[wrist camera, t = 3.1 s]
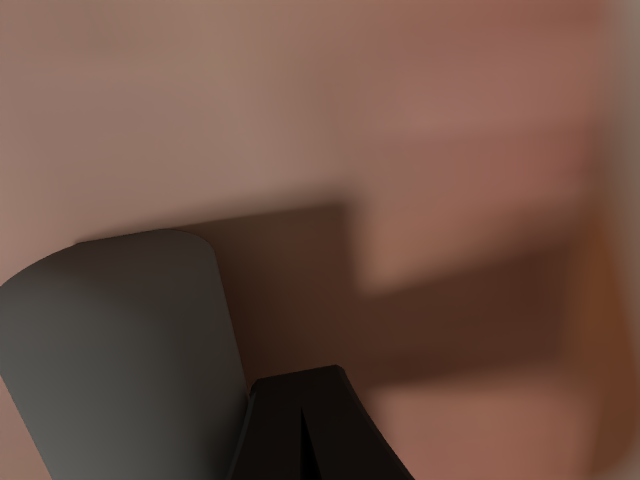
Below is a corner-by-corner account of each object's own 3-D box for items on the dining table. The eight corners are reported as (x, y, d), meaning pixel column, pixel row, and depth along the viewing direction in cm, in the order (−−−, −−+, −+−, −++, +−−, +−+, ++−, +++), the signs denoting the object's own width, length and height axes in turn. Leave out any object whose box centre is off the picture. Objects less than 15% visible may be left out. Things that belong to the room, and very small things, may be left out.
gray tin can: (82, 593, 10) (202, 470, 12) (203, 698, 8) (317, 533, 10) (-66, 314, 7) (122, 217, 9) (69, 386, 6) (261, 248, 8)
